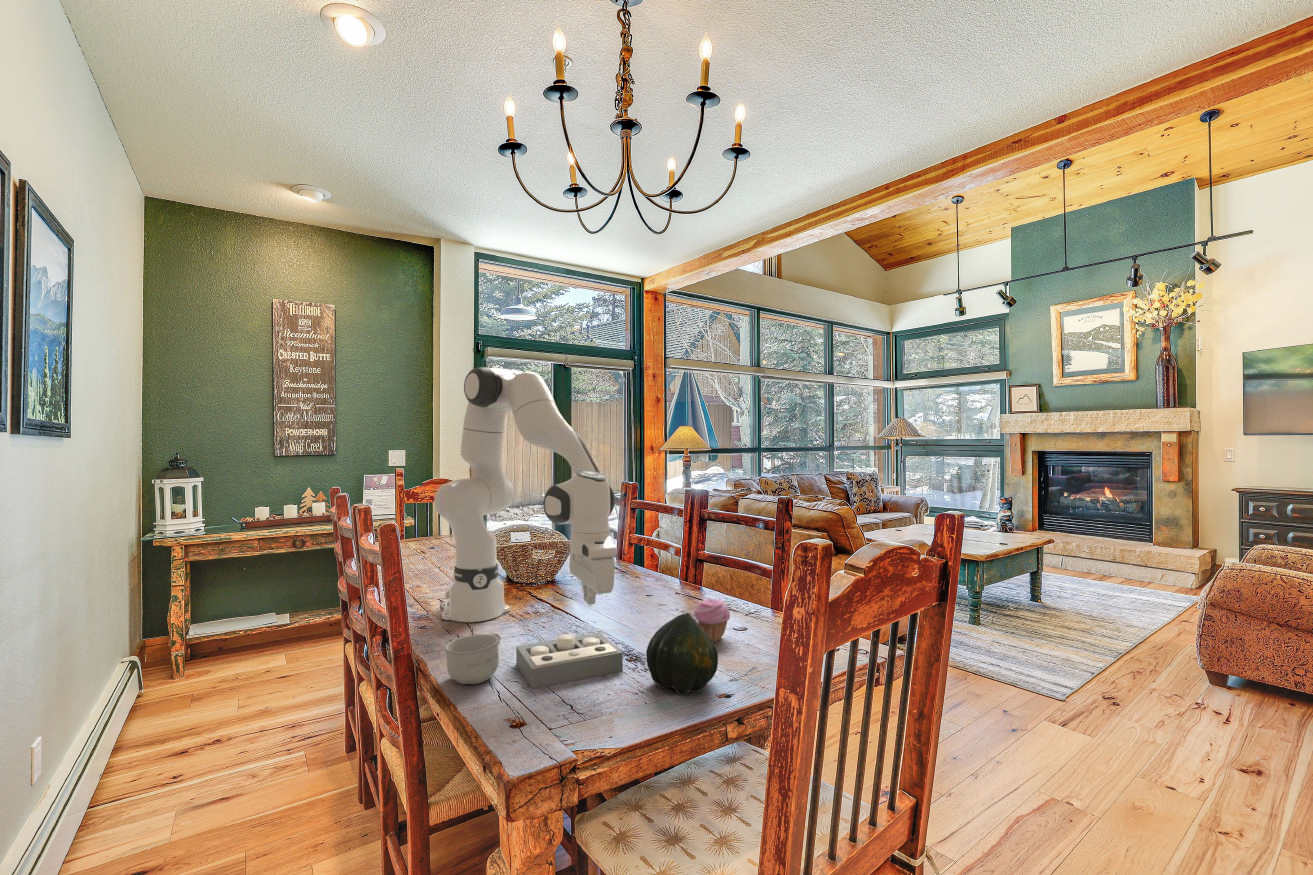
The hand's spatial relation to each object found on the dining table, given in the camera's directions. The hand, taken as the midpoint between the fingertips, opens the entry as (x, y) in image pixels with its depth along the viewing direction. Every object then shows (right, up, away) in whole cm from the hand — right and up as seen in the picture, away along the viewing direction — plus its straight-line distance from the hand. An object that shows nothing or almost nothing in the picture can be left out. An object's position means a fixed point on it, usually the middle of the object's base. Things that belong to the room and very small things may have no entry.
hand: (589, 602), depth 135 cm
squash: (+21, -14, -13) cm, 28 cm away
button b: (-5, -10, -3) cm, 12 cm away
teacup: (-23, -13, -9) cm, 28 cm away
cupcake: (+30, -13, +13) cm, 35 cm away
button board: (-4, -13, -4) cm, 14 cm away
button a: (-10, -12, -5) cm, 17 cm away
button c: (0, -12, 0) cm, 12 cm away
